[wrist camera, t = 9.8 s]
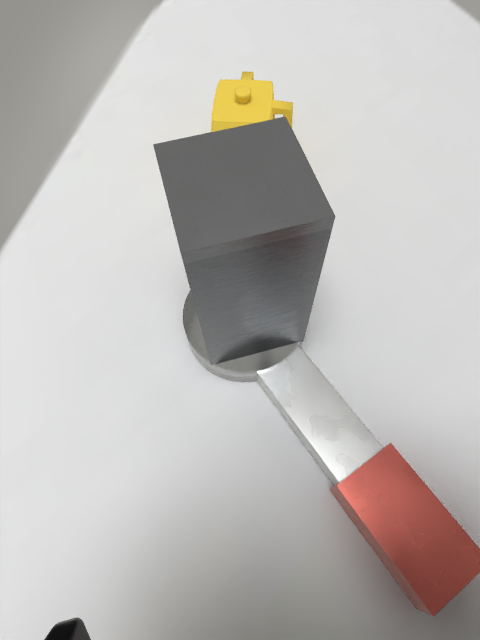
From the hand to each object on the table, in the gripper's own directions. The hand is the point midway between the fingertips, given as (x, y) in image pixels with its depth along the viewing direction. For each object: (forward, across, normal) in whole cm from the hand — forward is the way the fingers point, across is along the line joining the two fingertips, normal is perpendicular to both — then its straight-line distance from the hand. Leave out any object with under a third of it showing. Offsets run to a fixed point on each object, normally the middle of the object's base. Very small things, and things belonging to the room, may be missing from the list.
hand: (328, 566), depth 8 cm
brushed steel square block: (+16, -1, 0) cm, 17 cm away
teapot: (+28, -5, -9) cm, 30 cm away
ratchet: (+14, -3, +5) cm, 15 cm away
